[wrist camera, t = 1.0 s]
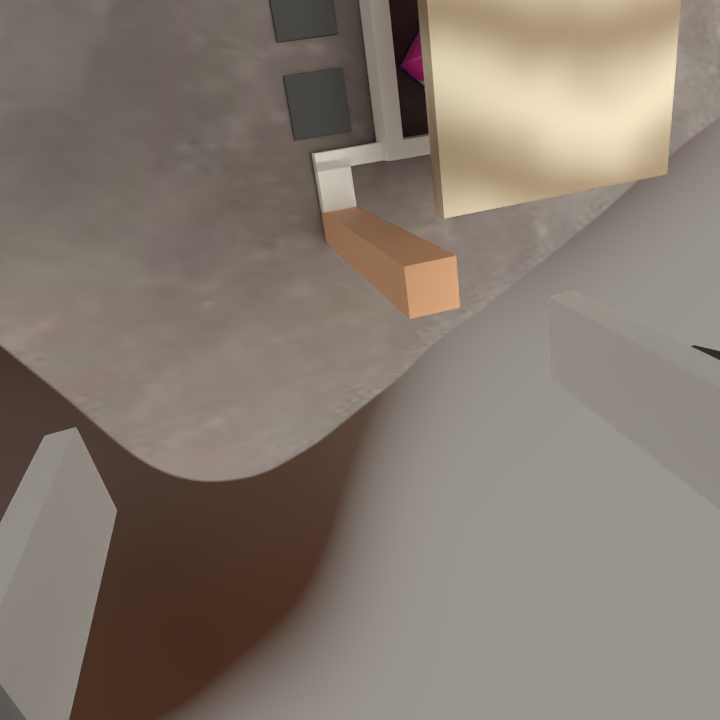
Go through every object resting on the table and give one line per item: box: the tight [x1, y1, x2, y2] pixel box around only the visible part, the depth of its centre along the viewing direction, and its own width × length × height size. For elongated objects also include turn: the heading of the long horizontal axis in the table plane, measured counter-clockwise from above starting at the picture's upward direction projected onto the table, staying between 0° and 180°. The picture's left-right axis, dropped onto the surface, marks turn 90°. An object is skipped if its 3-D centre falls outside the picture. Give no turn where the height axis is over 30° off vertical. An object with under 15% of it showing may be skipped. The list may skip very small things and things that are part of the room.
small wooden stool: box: [417, 0, 681, 218], centre depth 33 cm, size 17×14×14 cm
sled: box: [311, 0, 460, 319], centre depth 31 cm, size 18×17×19 cm
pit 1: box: [270, 0, 338, 42], centre depth 35 cm, size 4×4×1 cm
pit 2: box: [283, 68, 351, 140], centre depth 38 cm, size 4×4×1 cm
